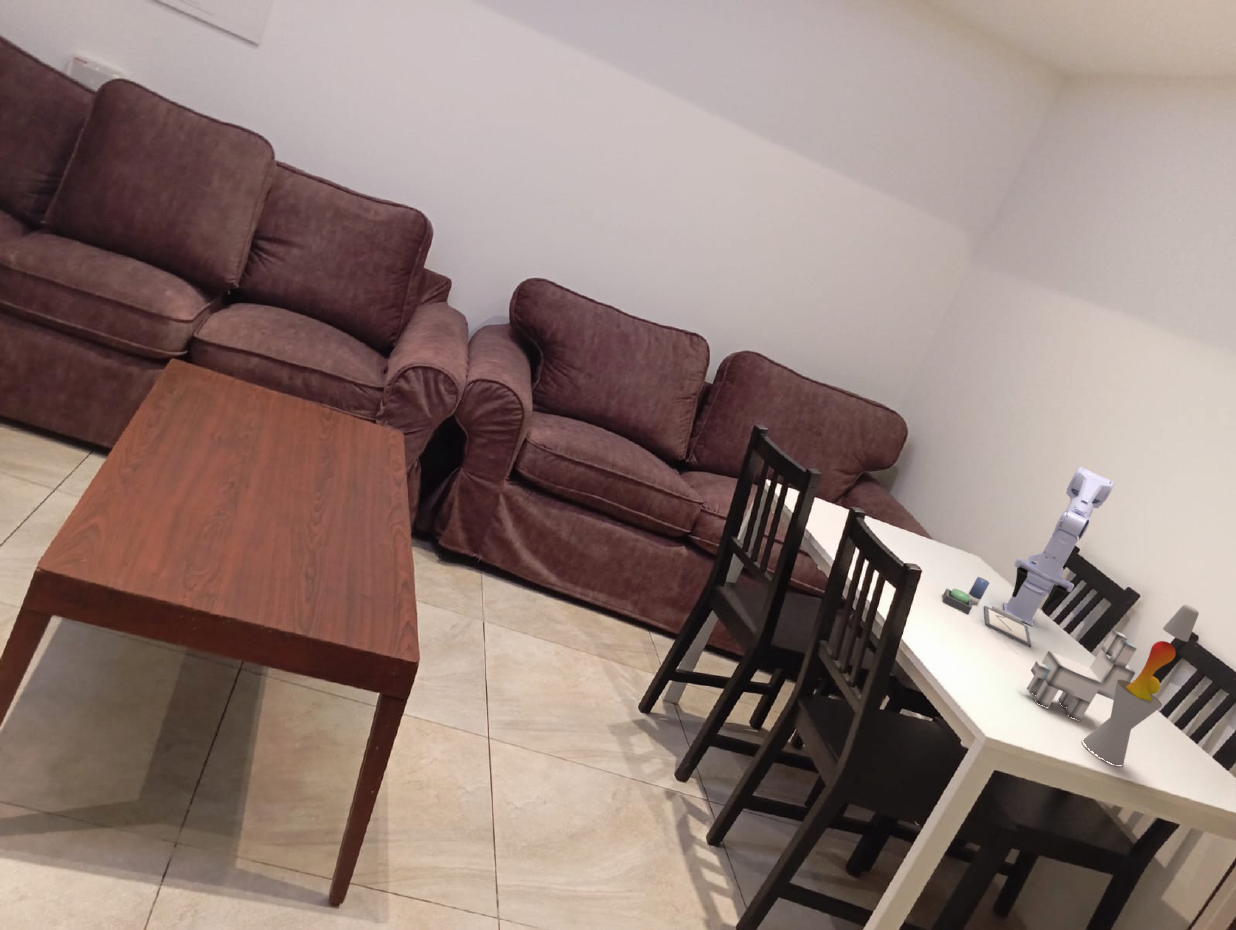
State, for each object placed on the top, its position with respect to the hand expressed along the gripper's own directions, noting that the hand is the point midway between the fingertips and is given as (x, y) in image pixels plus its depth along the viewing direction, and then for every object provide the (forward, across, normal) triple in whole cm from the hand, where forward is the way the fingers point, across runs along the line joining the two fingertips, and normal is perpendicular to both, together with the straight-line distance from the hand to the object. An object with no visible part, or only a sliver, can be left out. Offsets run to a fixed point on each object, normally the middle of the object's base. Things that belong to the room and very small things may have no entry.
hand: (1028, 602), depth 259 cm
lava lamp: (+10, +17, -51) cm, 55 cm away
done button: (+9, -15, +5) cm, 18 cm away
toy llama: (+10, +9, -36) cm, 38 cm away
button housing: (+10, -15, +5) cm, 18 cm away
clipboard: (+10, -1, +7) cm, 12 cm away
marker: (+10, -10, +14) cm, 20 cm away
